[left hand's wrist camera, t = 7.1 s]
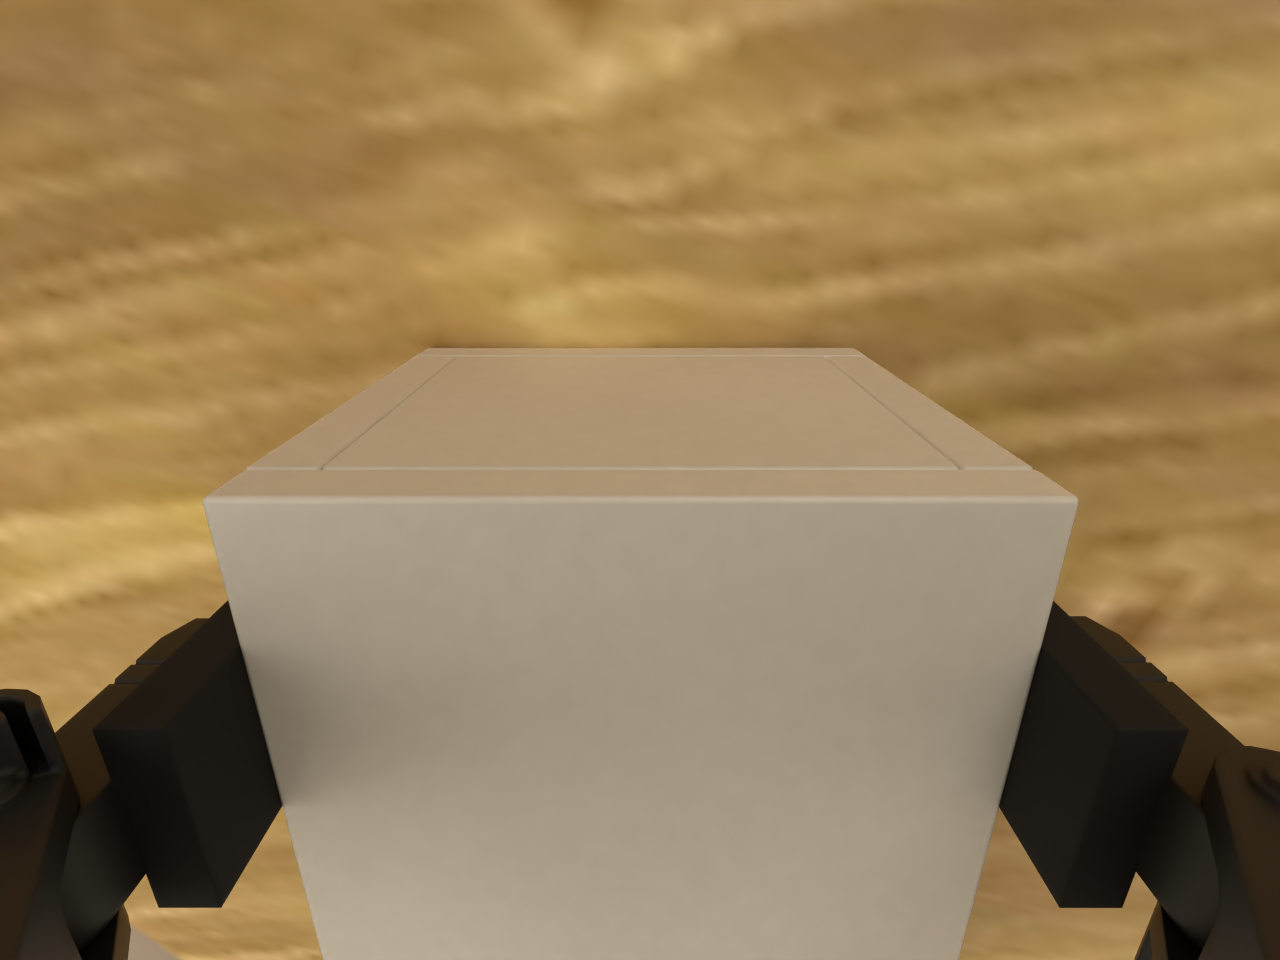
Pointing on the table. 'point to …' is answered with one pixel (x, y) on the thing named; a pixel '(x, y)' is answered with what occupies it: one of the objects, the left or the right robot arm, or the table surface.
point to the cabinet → (640, 654)
